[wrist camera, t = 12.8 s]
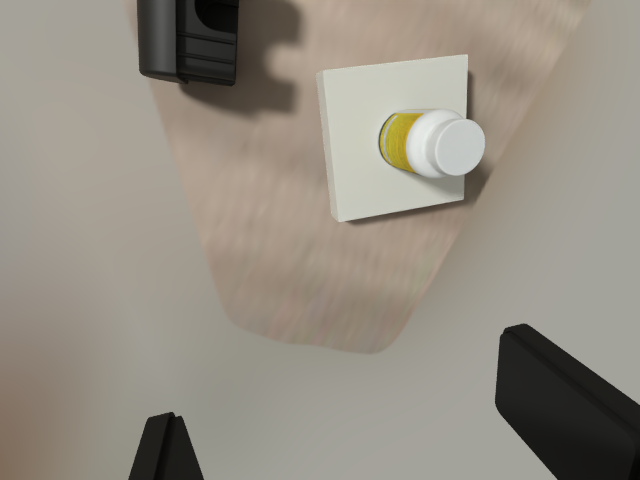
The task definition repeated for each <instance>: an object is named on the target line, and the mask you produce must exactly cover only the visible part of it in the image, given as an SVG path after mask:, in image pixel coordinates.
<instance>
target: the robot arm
mask: <svg viewBox="0 0 640 480" xmlns="http://www.w3.org/2000/svg"><path fill="white" fill-rule="evenodd" d="M495 404H496V407H497V410H498V411H499V413H500V414H501V415H502V417H503V418H504V419H505V420H506V421H507V422H508V424H509V425H510V426H511V427H512V428H513V429H514V430H515V432H516V433H517V434H518V435H519V436H520V437H521V438H522V440H523V441H524V442H525V443H526V444H527V445H528V446H529V448H530V449H531V450H532V451H533V452H534V453H535V454H536V455H537V457H538V458H539V459H540V460H541V461H542V462H543V464H545V466H546V467H547V468H548V469H549V470H550V471H551V473H552V474H553V475H554V476H555V477H556V478H557V480H640V405H639V404H637V403H636V402H635V401H633V400H632V399H631V398H629V397H628V396H626V395H625V394H624V393H622V392H621V391H620V390H618V389H617V388H615V387H614V386H613V385H611V384H610V383H608V382H607V381H606V380H604V379H603V378H601V377H600V376H599V375H597V374H596V373H595V372H593V371H592V370H590V369H589V368H588V367H586V366H585V365H583V364H582V363H581V362H579V361H578V360H576V359H575V358H574V357H572V356H571V355H570V354H568V353H567V352H565V351H564V350H563V349H561V348H560V347H558V346H557V345H556V344H554V343H553V342H551V341H550V340H549V339H547V338H546V337H545V336H543V335H542V334H540V333H539V332H538V331H536V330H535V329H533V328H532V327H531V326H529V325H527V324H520V325H515V326H511V327H508V328H505V330H504V332H503V334H502V335H501V336H500V344H499V356H498V369H497V382H496V395H495ZM128 480H204V479H203V475H202V473H201V470H200V467H199V464H198V461H197V458H196V455H195V452H194V449H193V446H192V444H191V441H190V438H189V435H188V432H187V429H186V426H185V423H184V420H183V418H182V416H178V417H175V415H174V413H173V412H169V413H165V414H161V415H157V416H153V417H149V418H148V419H147V422H146V424H145V428H144V431H143V434H142V438H141V440H140V444H139V447H138V450H137V454H136V456H135V460H134V463H133V467H132V469H131V473H130V476H129V479H128Z"/></svg>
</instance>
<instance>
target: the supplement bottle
mask: <svg viewBox="0 0 640 480" xmlns="http://www.w3.org/2000/svg"><path fill="white" fill-rule="evenodd" d="M377 147H378V151H379V153H380V155H381V157H382V158H383V160H384V161H385V162H386V163H388V164H389V165H391V166H393V167H396V168H399V169H402V170H405V171H408V172H411V173H414V174H417V175H420V176H423V177H427V178H433V179H436V178H443V177H446V176H448V175H452V176H460V175H463V174H466V173H468V172H470V171H471V170H472V169H474V168H475V167H476V166H477V164H478V163H479V162H480V160H481V158H482V156H483V153H484V149H485V137H484V133H483V131H482V129H481V127H480V126H479V125H478V124H477V123H475V122H474V121H472V120H469V119H464V118H463V117H462V116H461V115H460V114H458V113H457V112H455V111H452V110H449V109H407V110H400V111H397V112H394V113H392V114H391V115H390V116H388V117H387V118H386V119H385V120H384V122H383V123H382V125H381V126H380V129H379V131H378V135H377Z"/></svg>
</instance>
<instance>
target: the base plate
mask: <svg viewBox="0 0 640 480" xmlns="http://www.w3.org/2000/svg"><path fill="white" fill-rule="evenodd" d="M467 70H468V54H465V55H456V56H447V57H438V58H429V59H420V60H411V61H402V62H393V63H384V64H375V65H366V66H357V67H348V68H339V69H330V70H322V71H321V72H319V73H317V74H316V80H317V89H318V98H319V107H320V116H321V125H322V134H323V143H324V152H325V160H326V169H327V178H328V187H329V196H330V205H331V214H332V216H333V217H334V218H335V219H336V220H337V221H338V222H343V221H348V220H354V219H359V218H365V217H370V216H376V215H381V214H387V213H392V212H398V211H403V210H409V209H414V208H420V207H425V206H431V205H436V204H442V203H447V202H453V201H458V200H464V176H465V174H463V175H460V176H452V175H448V176H446V177H443V178H436V179H433V178H427V177H423V176H420V175H417V174H414V173H411V172H408V171H405V170H402V169H399V168H396V167H393V166H391V165H389V164H388V163H386V162H385V161H384V160H383V158H382V157H381V155H380V153H379V151H378V147H377V135H378V131H379V129H380V126H381V125H382V123H383V122H384V120H385V119H386V118H387V117H388V116H390V115H391V114H392V113H394V112H397V111H400V110H407V109H449V110H452V111H455V112H457V113H458V114H460V115H461V116H462V117H463V118H464V119H466V105H467Z"/></svg>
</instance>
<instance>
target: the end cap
mask: <svg viewBox="0 0 640 480" xmlns="http://www.w3.org/2000/svg"><path fill="white" fill-rule="evenodd" d="M238 8H239V0H137V19H138V47H139V71H140V73H141V74H142V75H144V76H146V77H150V78H154V79H159V80H164V81H169V82H175V83H181V84H188V80H191V81H198V82H205V83H212V84H219V85H225V86H233V85H234V84H235V80H236V56H237V32H238Z"/></svg>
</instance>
